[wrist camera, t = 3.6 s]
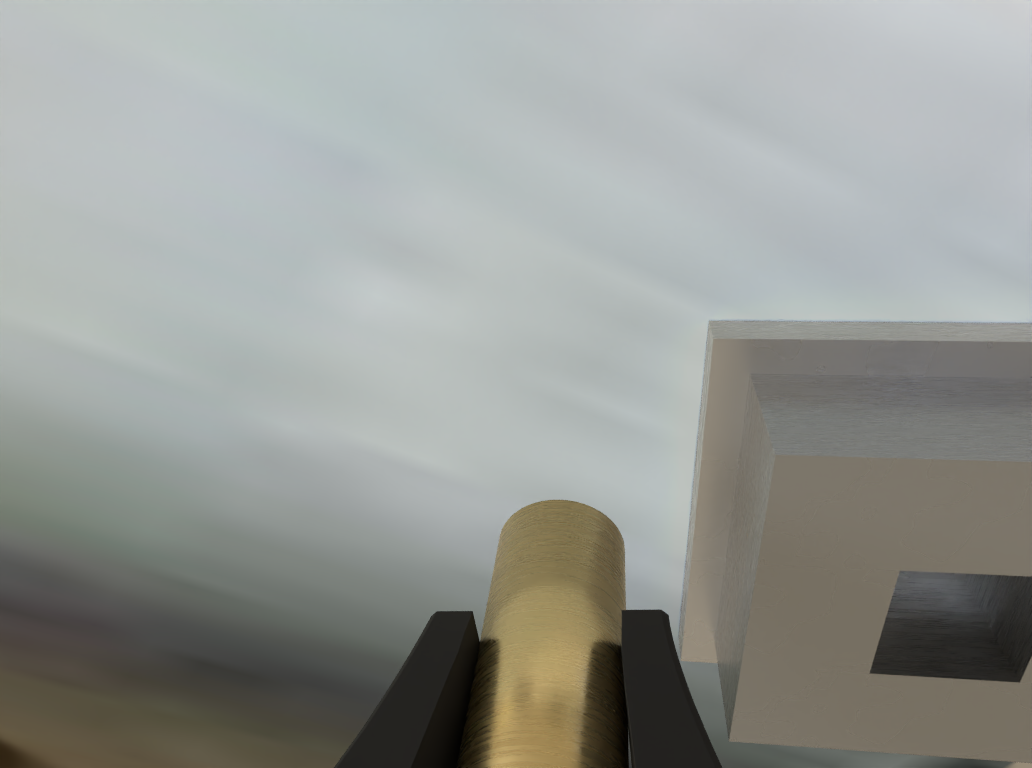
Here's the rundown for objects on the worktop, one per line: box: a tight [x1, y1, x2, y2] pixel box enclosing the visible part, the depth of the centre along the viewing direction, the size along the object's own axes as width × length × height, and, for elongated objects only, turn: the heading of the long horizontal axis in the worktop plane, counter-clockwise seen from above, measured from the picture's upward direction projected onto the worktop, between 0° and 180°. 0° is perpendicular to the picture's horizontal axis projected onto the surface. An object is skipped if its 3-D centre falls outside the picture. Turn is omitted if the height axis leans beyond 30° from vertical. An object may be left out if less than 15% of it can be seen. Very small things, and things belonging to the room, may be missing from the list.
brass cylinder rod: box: [456, 500, 629, 768], centre depth 11 cm, size 2×2×8 cm
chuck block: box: [679, 321, 1032, 763], centre depth 20 cm, size 12×12×4 cm
